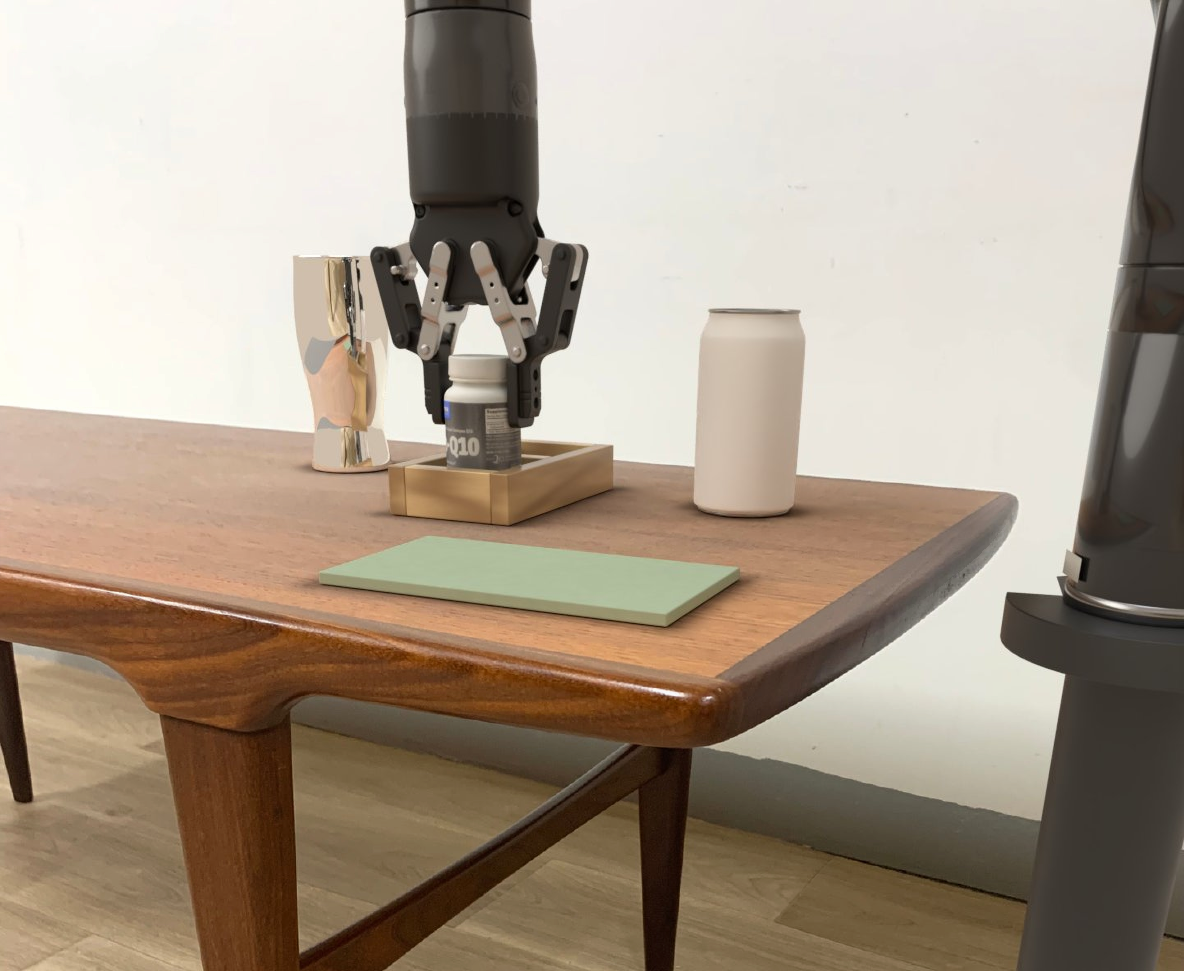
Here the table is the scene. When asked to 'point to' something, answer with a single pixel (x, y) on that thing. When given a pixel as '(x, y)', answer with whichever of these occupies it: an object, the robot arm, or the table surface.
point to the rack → (502, 484)
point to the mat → (538, 579)
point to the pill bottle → (479, 414)
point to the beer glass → (343, 360)
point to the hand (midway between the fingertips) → (482, 423)
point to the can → (748, 411)
